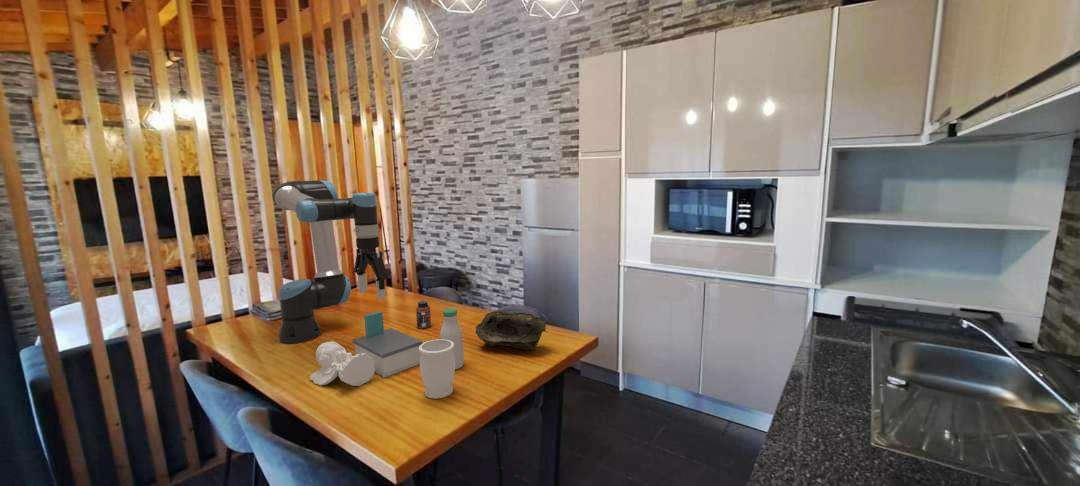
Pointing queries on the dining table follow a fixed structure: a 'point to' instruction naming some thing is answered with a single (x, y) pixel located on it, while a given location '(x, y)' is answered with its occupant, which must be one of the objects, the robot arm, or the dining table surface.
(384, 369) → the tub
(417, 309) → the supplement bottle
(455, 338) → the milk bottle
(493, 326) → the hollow geode rock
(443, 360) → the jar
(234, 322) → the dining table surface
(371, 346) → the lid
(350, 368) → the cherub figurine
